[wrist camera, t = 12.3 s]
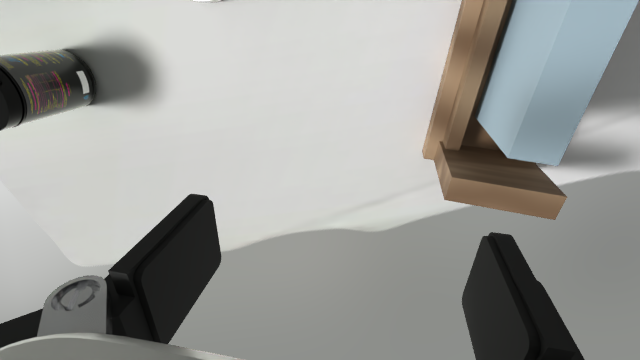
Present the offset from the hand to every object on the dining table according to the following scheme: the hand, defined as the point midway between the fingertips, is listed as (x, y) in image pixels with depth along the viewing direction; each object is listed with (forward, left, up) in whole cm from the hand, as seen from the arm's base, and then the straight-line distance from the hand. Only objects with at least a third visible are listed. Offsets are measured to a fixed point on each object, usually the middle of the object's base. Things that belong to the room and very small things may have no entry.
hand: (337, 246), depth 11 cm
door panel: (-6, +11, -22) cm, 25 cm away
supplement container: (+3, -36, -25) cm, 44 cm away
